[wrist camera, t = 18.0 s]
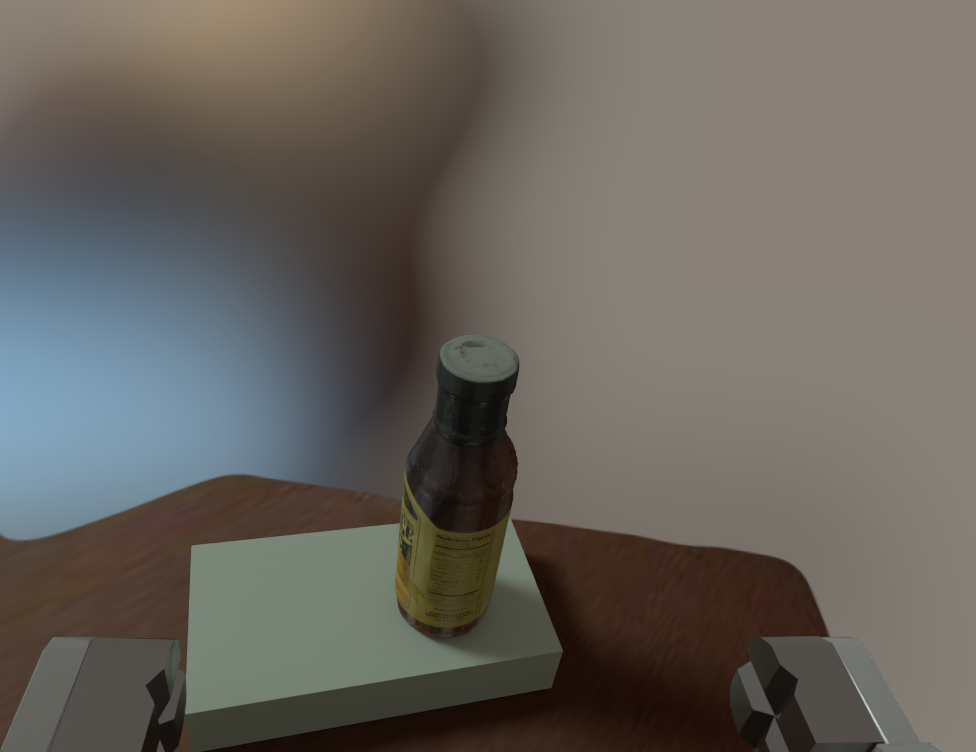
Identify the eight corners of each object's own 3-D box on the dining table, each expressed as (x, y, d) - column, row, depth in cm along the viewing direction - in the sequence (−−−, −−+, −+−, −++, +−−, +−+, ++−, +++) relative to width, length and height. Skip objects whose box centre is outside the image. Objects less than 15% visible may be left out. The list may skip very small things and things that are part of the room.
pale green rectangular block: (191, 753, 43) (184, 714, 41) (196, 585, 53) (191, 545, 50) (551, 687, 50) (562, 651, 48) (500, 548, 59) (507, 511, 57)
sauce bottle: (410, 554, 52) (439, 304, 41) (498, 580, 51) (553, 331, 40) (376, 632, 47) (399, 369, 35) (474, 661, 46) (529, 402, 35)
